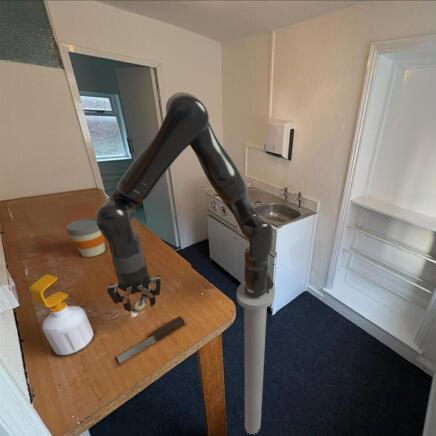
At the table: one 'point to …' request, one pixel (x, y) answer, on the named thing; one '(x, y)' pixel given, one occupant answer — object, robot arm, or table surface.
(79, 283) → the table surface
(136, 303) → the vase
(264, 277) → the robot arm
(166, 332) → the knife
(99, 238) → the reusable coffee cup
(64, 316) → the soap bottle
